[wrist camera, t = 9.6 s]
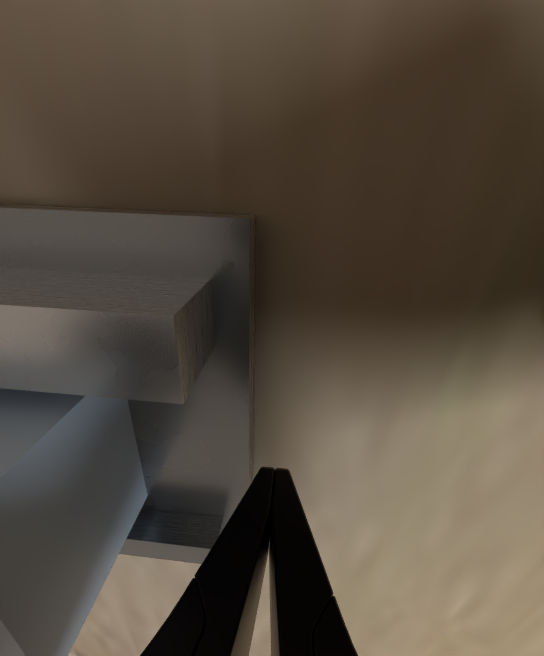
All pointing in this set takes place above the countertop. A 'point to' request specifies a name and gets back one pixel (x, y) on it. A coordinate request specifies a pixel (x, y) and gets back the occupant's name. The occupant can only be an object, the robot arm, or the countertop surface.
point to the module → (61, 512)
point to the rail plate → (222, 390)
